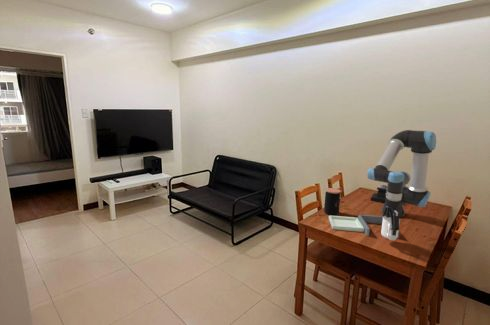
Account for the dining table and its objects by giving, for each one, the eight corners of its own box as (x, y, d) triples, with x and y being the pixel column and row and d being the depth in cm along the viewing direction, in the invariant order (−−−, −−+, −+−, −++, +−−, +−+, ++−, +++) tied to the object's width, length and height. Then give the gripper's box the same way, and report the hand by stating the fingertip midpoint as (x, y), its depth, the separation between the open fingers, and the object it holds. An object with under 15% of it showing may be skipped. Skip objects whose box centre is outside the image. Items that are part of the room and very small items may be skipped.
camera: (371, 186, 222) (376, 181, 233) (370, 201, 226) (374, 195, 237) (392, 190, 212) (396, 184, 224) (390, 206, 216) (394, 199, 228)
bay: (385, 223, 181) (386, 216, 180) (398, 238, 159) (399, 231, 158) (357, 221, 183) (358, 214, 182) (366, 236, 162) (367, 228, 161)
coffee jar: (336, 217, 190) (339, 193, 186) (322, 213, 196) (324, 190, 192) (340, 212, 199) (342, 189, 195) (326, 209, 205) (327, 187, 201)
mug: (378, 239, 150) (381, 221, 147) (382, 230, 159) (384, 214, 157) (396, 243, 145) (398, 225, 142) (398, 234, 154) (400, 218, 152)
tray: (356, 220, 184) (357, 217, 183) (363, 232, 167) (364, 228, 167) (328, 218, 187) (328, 215, 186) (332, 229, 170) (332, 225, 170)
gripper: (379, 192, 159) (375, 225, 164) (394, 206, 137) (389, 244, 142) (392, 192, 158) (388, 226, 163) (409, 207, 136) (404, 245, 140)
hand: (388, 234), depth 152 cm, fingers closed on mug, 11 cm apart
